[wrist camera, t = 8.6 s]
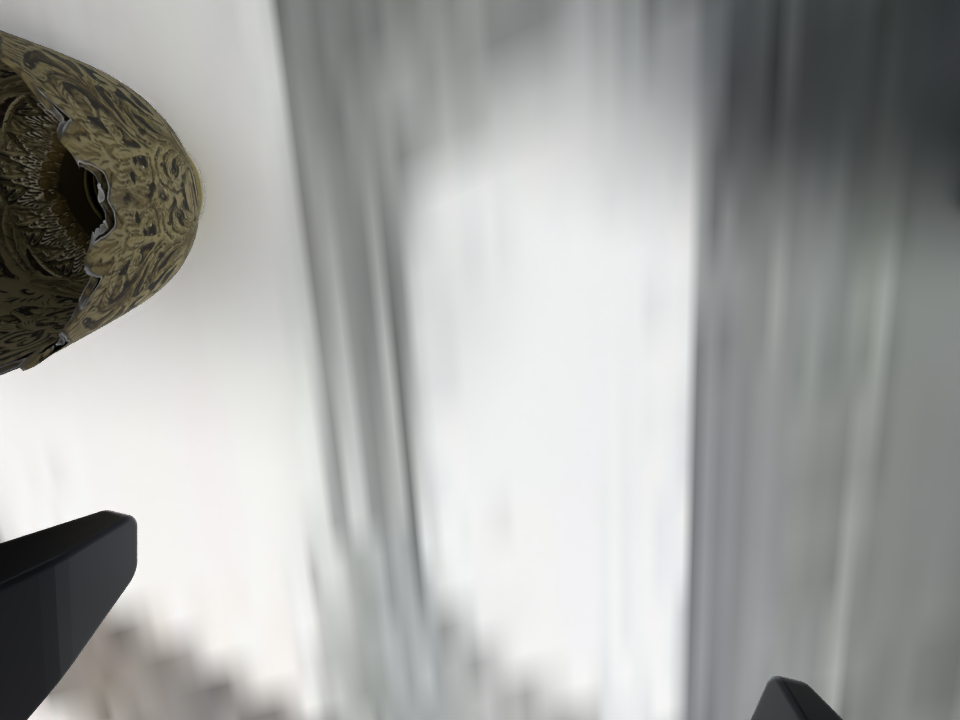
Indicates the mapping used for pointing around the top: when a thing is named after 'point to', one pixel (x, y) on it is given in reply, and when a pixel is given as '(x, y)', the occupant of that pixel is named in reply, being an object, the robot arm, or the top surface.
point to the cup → (82, 201)
